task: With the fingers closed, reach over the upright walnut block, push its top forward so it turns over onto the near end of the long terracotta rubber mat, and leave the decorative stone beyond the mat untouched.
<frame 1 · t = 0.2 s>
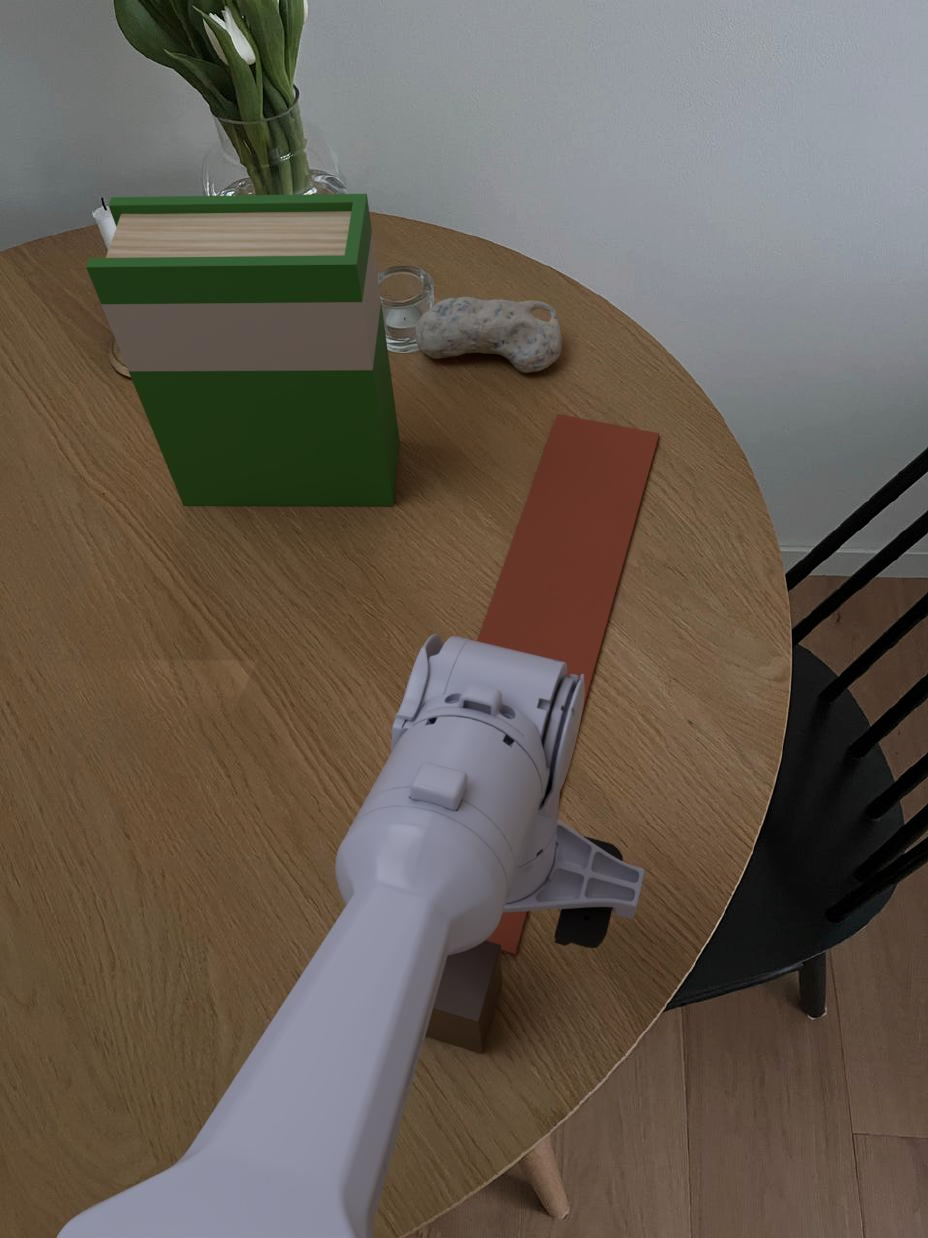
hand: (499, 908, 61), 8 cm above the table, tool pointing down, fingers open, 7 cm apart
decorative stone: (488, 356, 97), on the table
terracotta mat: (539, 642, 80), on the table
walnut block: (458, 1007, 65), on the table
hardback book: (293, 473, 90), on the table
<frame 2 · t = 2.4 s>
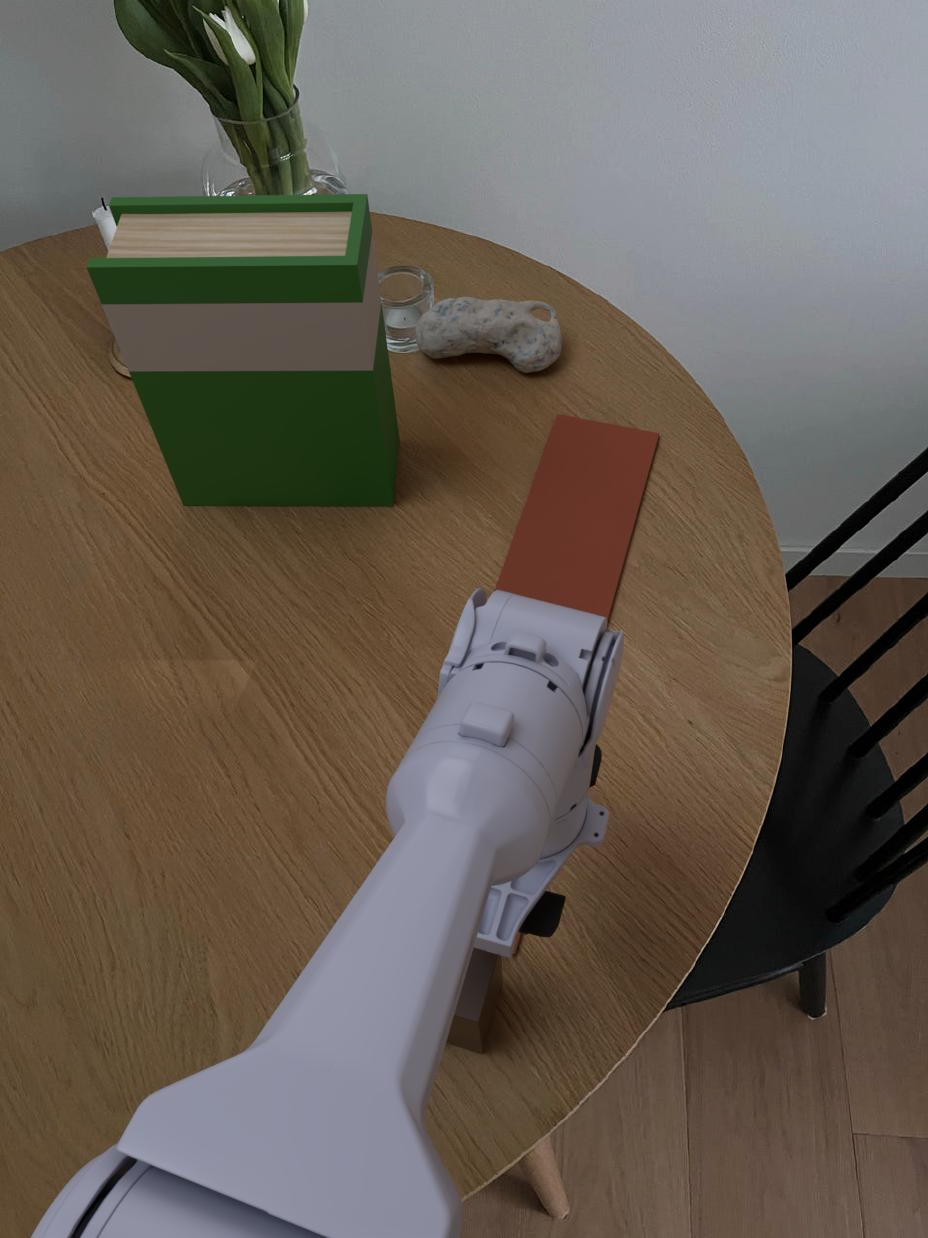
hand: (528, 870, 62), 7 cm above the table, tool pointing down, fingers open, 6 cm apart
nothing on the table moved.
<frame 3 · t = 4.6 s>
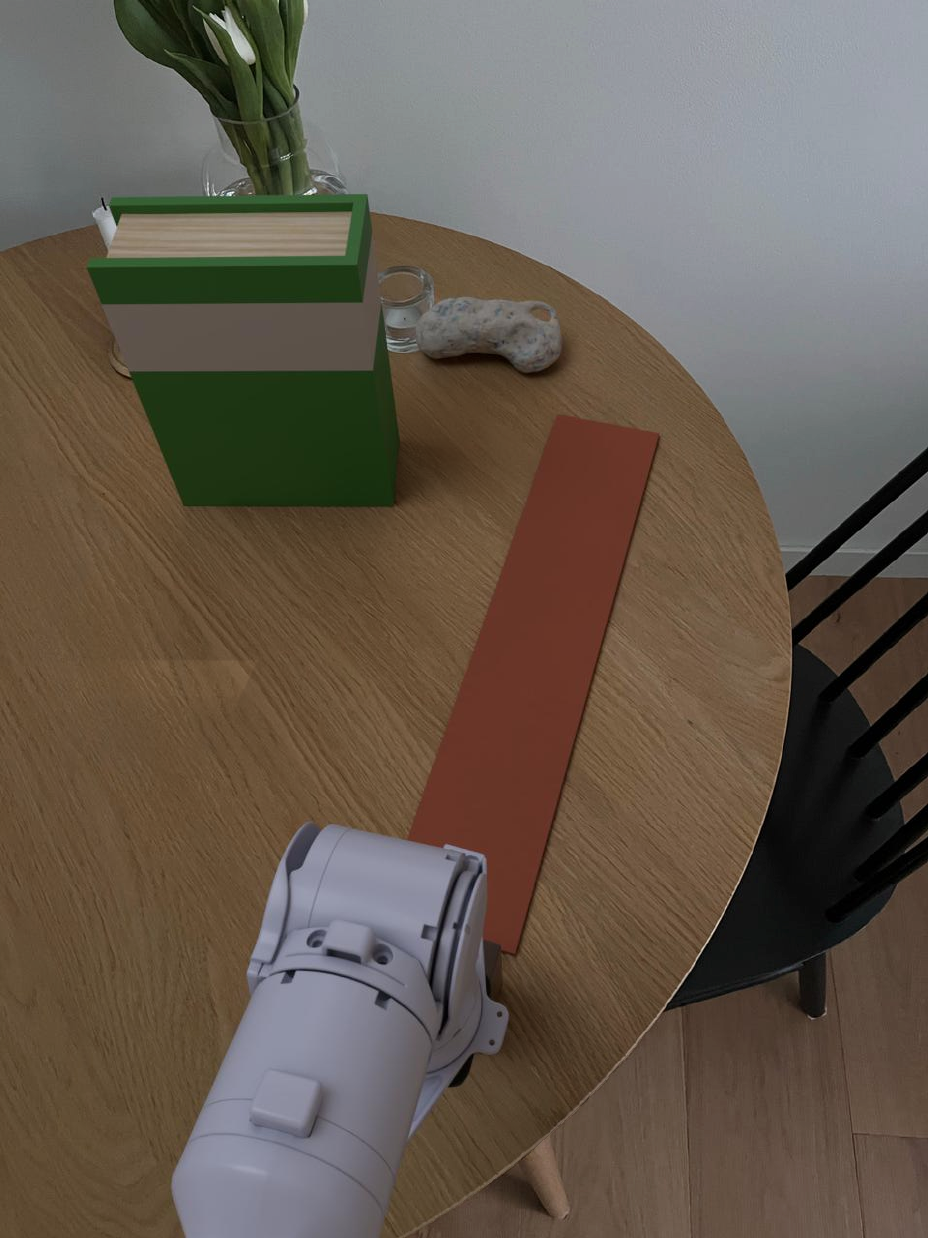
hand: (433, 1038, 54), 10 cm above the table, tool pointing down, fingers closed
nothing on the table moved.
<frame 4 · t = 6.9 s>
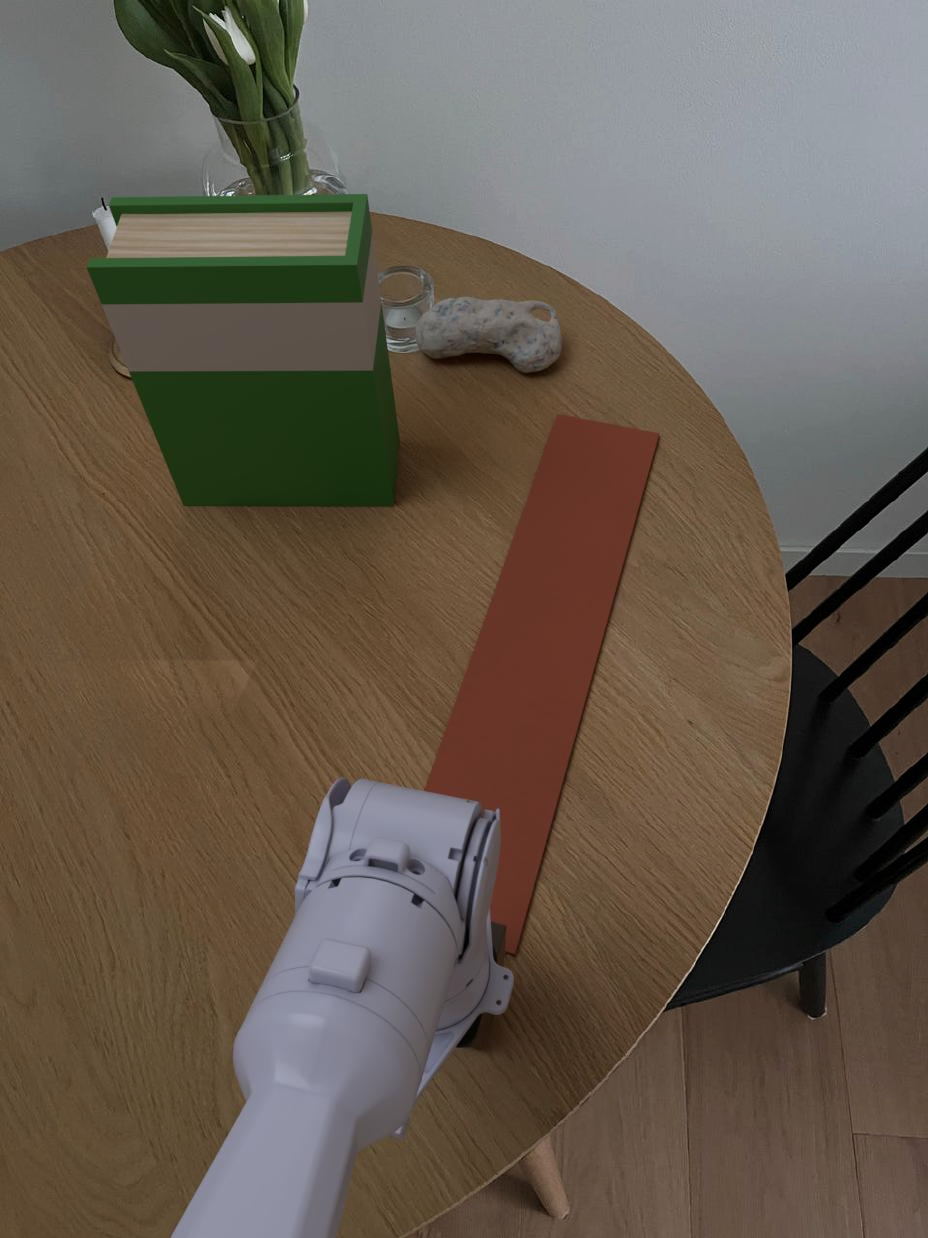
hand: (441, 1014, 58), 7 cm above the table, tool pointing down, fingers closed
walnut block: (458, 1006, 65), on the table, tilted 8°, touching gripper
everything else where it was.
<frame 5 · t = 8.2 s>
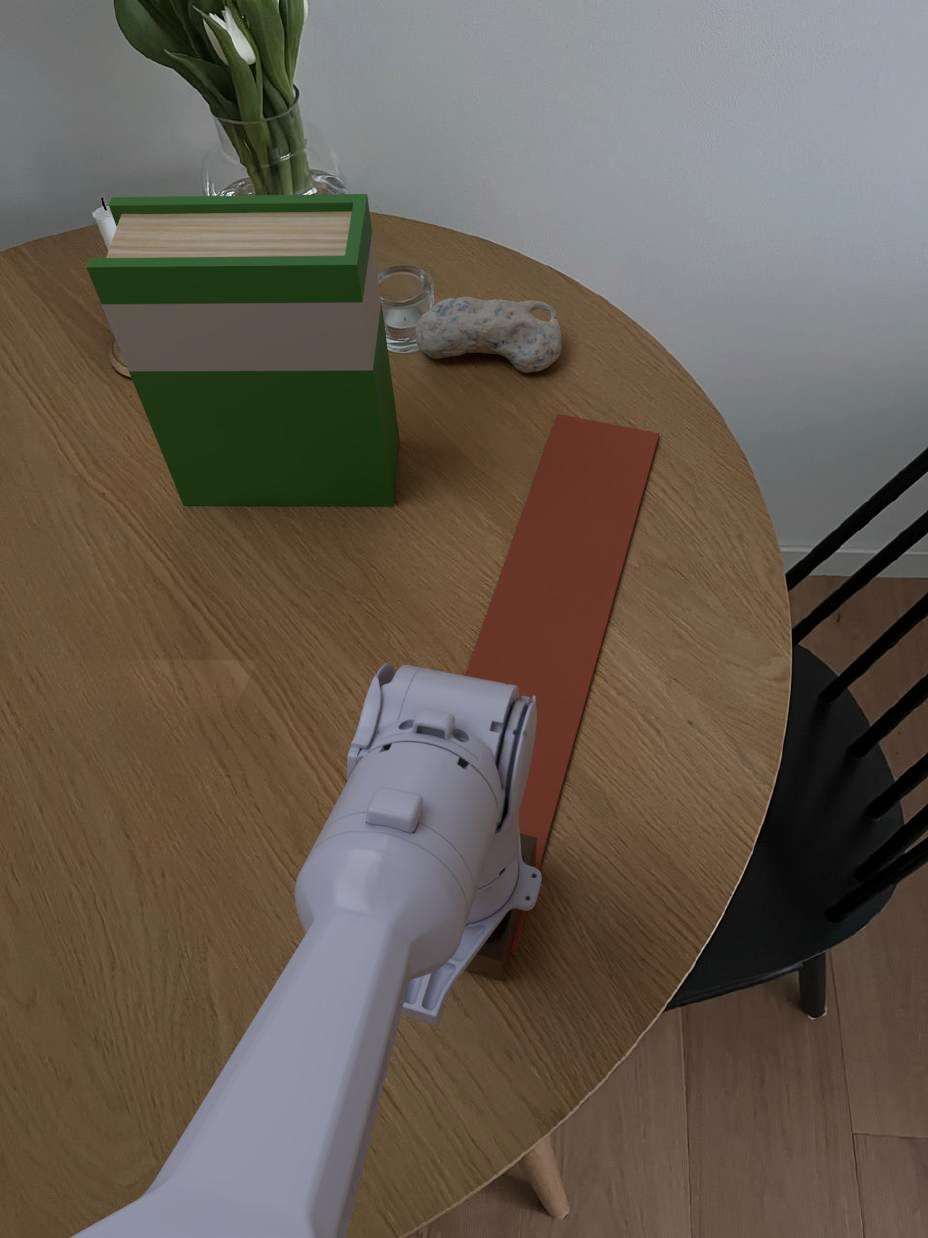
hand: (468, 925, 61), 7 cm above the table, tool pointing down, fingers closed
walnut block: (467, 961, 64), point 3 cm above the table, tilted 90°, touching terracotta mat
everything else where it was.
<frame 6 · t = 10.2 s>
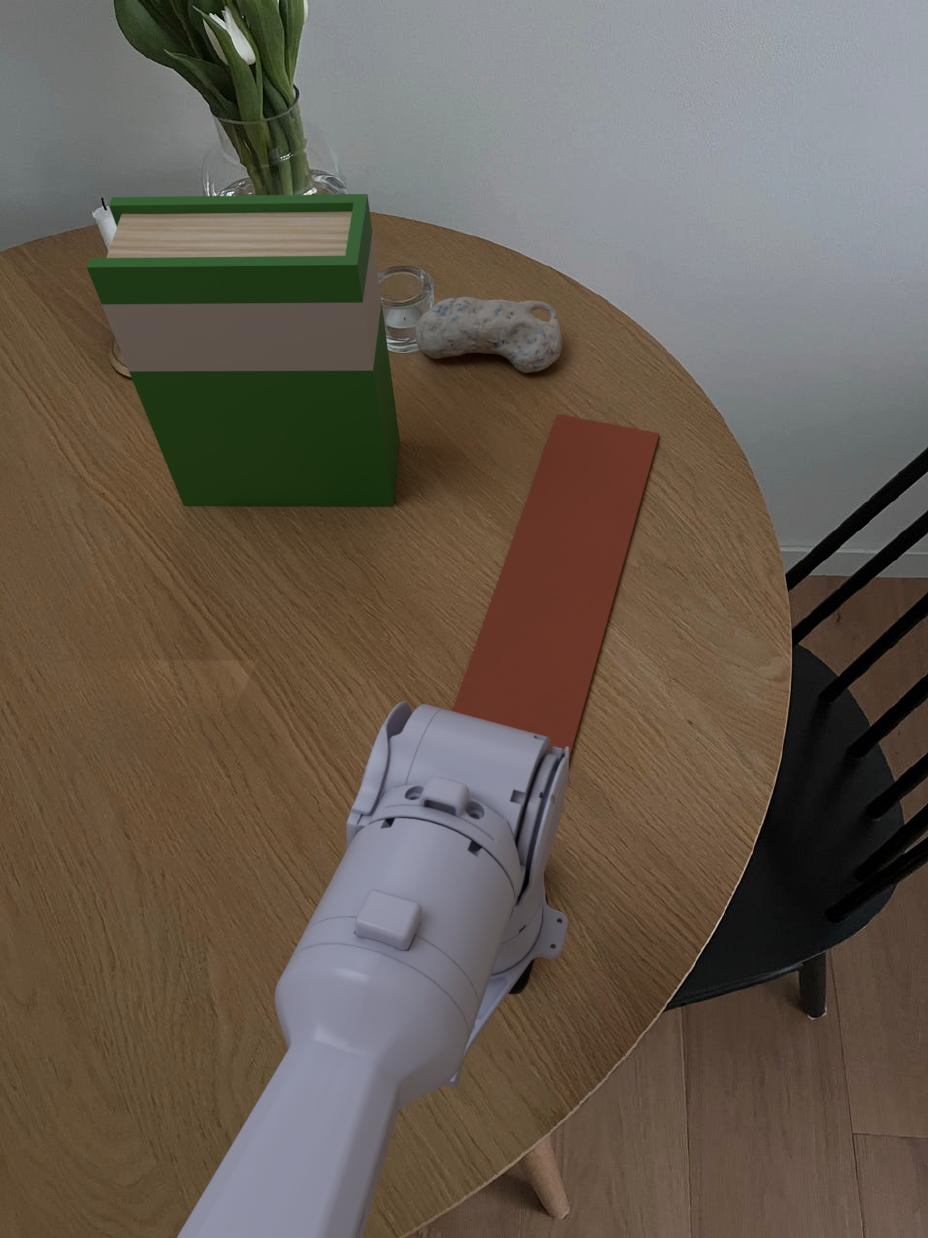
hand: (486, 962, 56), 10 cm above the table, tool pointing down, fingers closed
nothing on the table moved.
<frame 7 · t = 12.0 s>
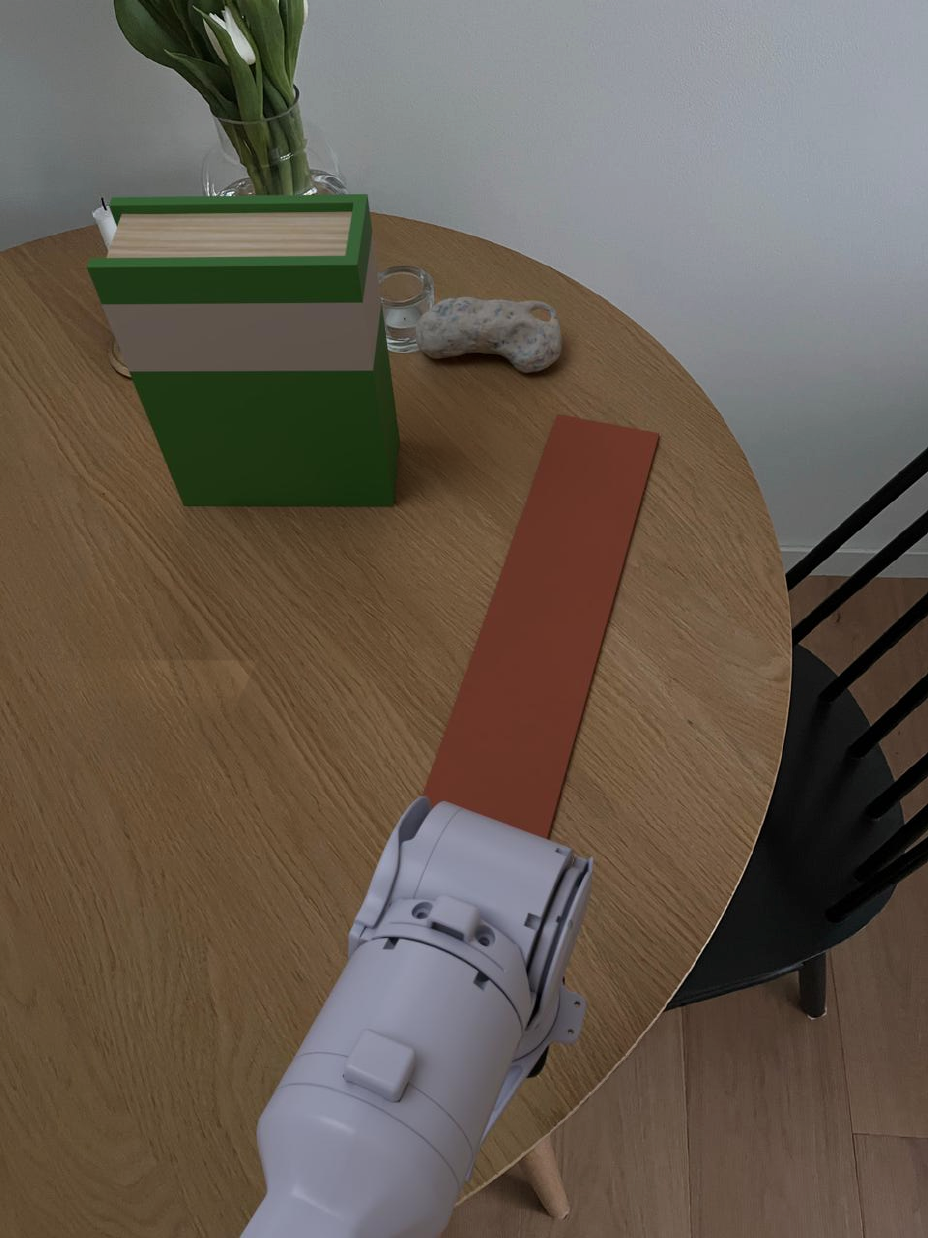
hand: (500, 1032, 54), 10 cm above the table, tool pointing down, fingers closed
nothing on the table moved.
at the end: walnut block tilted 90°; walnut block touching terracotta mat; decorative stone moved 0.2 cm from its start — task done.
